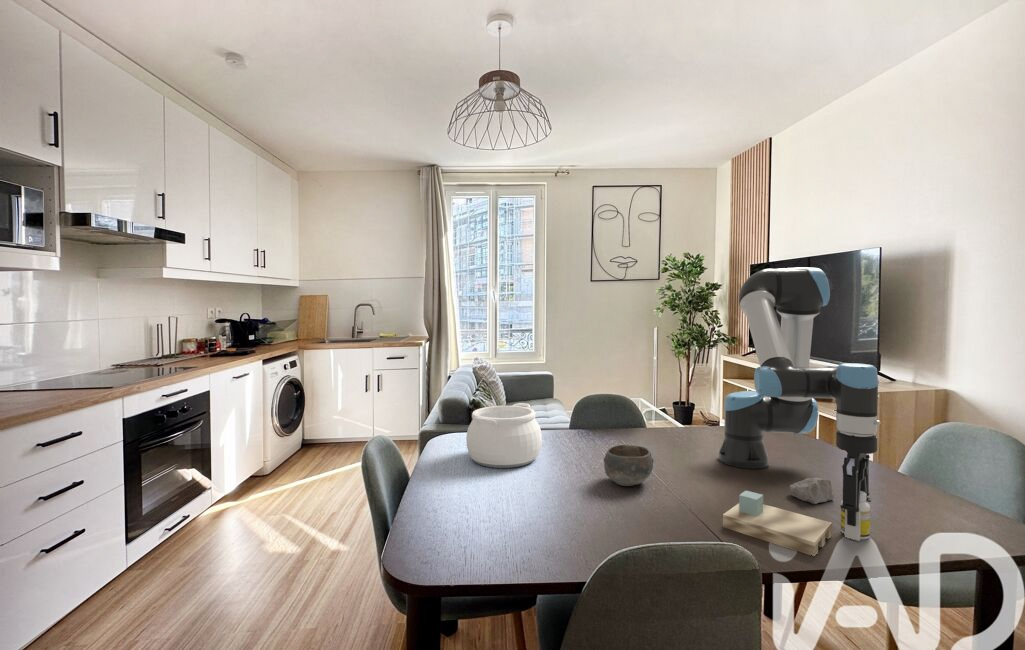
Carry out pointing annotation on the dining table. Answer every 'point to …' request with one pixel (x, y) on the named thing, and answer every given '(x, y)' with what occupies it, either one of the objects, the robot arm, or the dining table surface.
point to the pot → (504, 436)
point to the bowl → (628, 464)
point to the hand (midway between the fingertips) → (855, 533)
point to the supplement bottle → (864, 517)
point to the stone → (812, 490)
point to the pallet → (781, 528)
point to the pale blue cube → (751, 503)
